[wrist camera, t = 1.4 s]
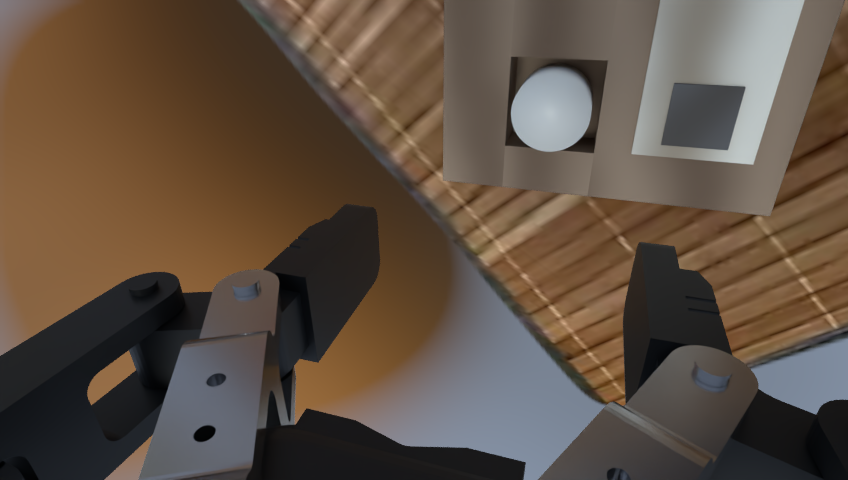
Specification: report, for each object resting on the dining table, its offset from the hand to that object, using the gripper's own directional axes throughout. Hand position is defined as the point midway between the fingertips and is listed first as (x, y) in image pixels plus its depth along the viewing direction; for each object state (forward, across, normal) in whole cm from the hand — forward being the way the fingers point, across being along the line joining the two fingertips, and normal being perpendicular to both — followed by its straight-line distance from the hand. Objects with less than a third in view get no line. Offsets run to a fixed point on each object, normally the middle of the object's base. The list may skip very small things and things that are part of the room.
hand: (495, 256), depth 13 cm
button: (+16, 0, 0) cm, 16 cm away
